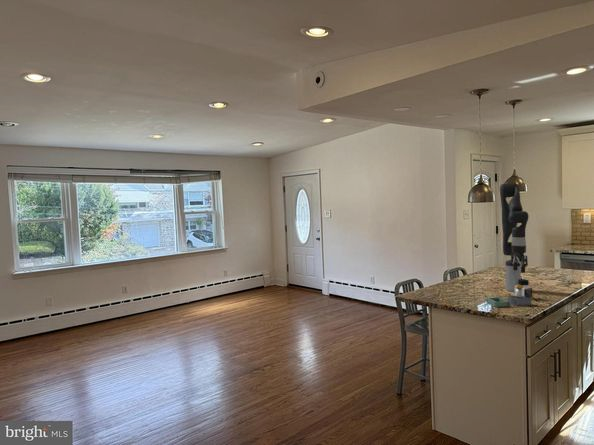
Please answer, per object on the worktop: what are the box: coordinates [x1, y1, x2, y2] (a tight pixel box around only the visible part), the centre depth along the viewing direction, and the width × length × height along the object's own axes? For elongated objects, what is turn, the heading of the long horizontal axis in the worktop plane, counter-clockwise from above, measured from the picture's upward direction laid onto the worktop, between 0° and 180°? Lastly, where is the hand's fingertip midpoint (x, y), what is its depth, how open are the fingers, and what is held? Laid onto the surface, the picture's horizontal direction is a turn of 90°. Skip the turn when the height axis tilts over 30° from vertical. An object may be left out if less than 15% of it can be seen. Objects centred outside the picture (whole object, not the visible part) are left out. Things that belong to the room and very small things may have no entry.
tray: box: [486, 297, 510, 308], centre depth 248 cm, size 12×8×3 cm, turn 0°
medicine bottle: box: [514, 278, 533, 300], centre depth 262 cm, size 7×7×12 cm
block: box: [507, 295, 532, 307], centre depth 248 cm, size 9×9×4 cm
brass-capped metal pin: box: [515, 285, 523, 298], centre depth 248 cm, size 4×4×11 cm
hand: (519, 271), depth 247 cm, fingers open, 8 cm apart
